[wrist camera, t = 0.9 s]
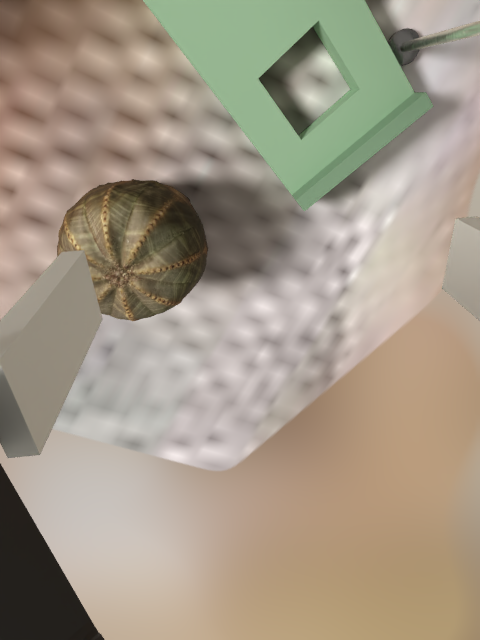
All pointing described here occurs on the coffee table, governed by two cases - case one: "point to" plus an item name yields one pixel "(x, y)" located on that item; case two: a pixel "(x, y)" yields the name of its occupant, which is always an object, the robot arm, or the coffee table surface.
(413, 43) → the flag pin
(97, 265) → the ribbed round cactus
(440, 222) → the coffee table surface
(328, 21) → the mat
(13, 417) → the robot arm
